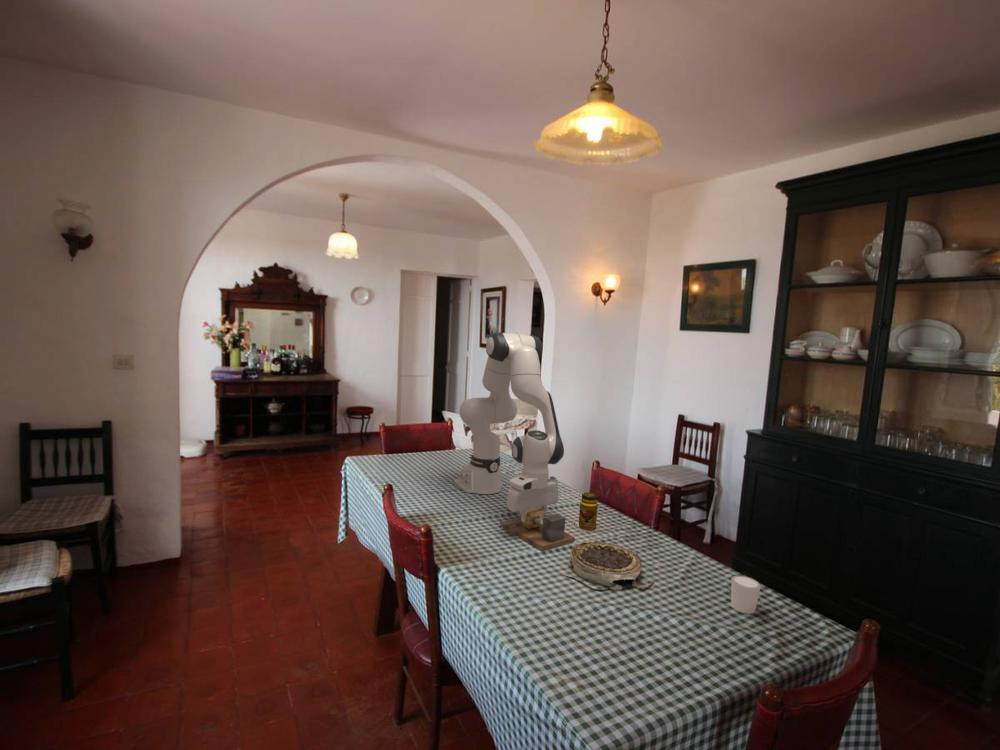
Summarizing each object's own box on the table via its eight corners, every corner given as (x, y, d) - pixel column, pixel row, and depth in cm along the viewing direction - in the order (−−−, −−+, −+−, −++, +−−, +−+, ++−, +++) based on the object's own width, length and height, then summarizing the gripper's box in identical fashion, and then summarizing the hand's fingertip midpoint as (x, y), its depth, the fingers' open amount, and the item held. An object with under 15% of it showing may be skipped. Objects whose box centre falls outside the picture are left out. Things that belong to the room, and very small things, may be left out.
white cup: (732, 597, 135) (735, 572, 134) (760, 607, 131) (763, 581, 130) (725, 607, 130) (728, 581, 129) (754, 618, 125) (757, 591, 125)
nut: (521, 525, 171) (522, 509, 170) (534, 522, 174) (535, 506, 174) (529, 529, 168) (530, 513, 167) (541, 526, 171) (543, 510, 170)
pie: (538, 562, 149) (540, 546, 149) (597, 542, 167) (599, 528, 167) (615, 606, 128) (617, 587, 128) (674, 577, 146) (675, 561, 145)
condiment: (582, 532, 173) (584, 498, 172) (571, 522, 181) (574, 490, 180) (601, 530, 175) (604, 497, 174) (590, 521, 183) (592, 489, 182)
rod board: (500, 526, 174) (501, 502, 173) (530, 518, 182) (532, 496, 181) (542, 551, 156) (544, 524, 155) (574, 541, 165) (576, 516, 164)
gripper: (551, 473, 178) (548, 511, 179) (505, 481, 166) (503, 521, 167) (563, 478, 173) (561, 516, 174) (517, 486, 161) (514, 528, 162)
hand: (532, 519), depth 171 cm, fingers closed on nut, 6 cm apart
